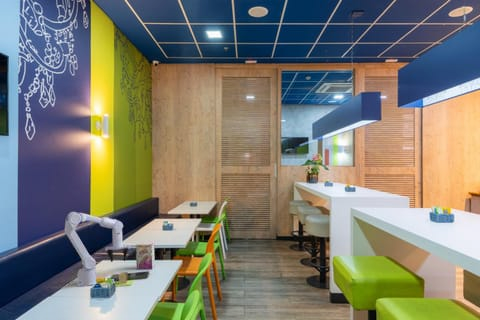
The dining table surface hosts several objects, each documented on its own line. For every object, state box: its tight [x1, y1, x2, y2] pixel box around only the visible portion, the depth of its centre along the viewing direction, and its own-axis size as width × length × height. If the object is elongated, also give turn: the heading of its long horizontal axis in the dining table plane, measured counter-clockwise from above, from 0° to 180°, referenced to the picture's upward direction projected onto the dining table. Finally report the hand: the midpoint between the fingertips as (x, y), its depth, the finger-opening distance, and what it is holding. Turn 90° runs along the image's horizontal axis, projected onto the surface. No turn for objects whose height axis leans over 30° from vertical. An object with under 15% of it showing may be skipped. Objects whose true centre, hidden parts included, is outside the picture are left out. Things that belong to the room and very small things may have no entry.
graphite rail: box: [109, 270, 150, 282], centre depth 186 cm, size 22×7×2 cm, turn 99°
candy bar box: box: [135, 242, 156, 270], centre depth 203 cm, size 11×5×16 cm, turn 84°
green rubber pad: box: [115, 280, 134, 288], centre depth 177 cm, size 10×7×1 cm
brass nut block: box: [118, 271, 129, 285], centre depth 177 cm, size 4×4×6 cm
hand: (118, 260), depth 190 cm, fingers open, 7 cm apart
